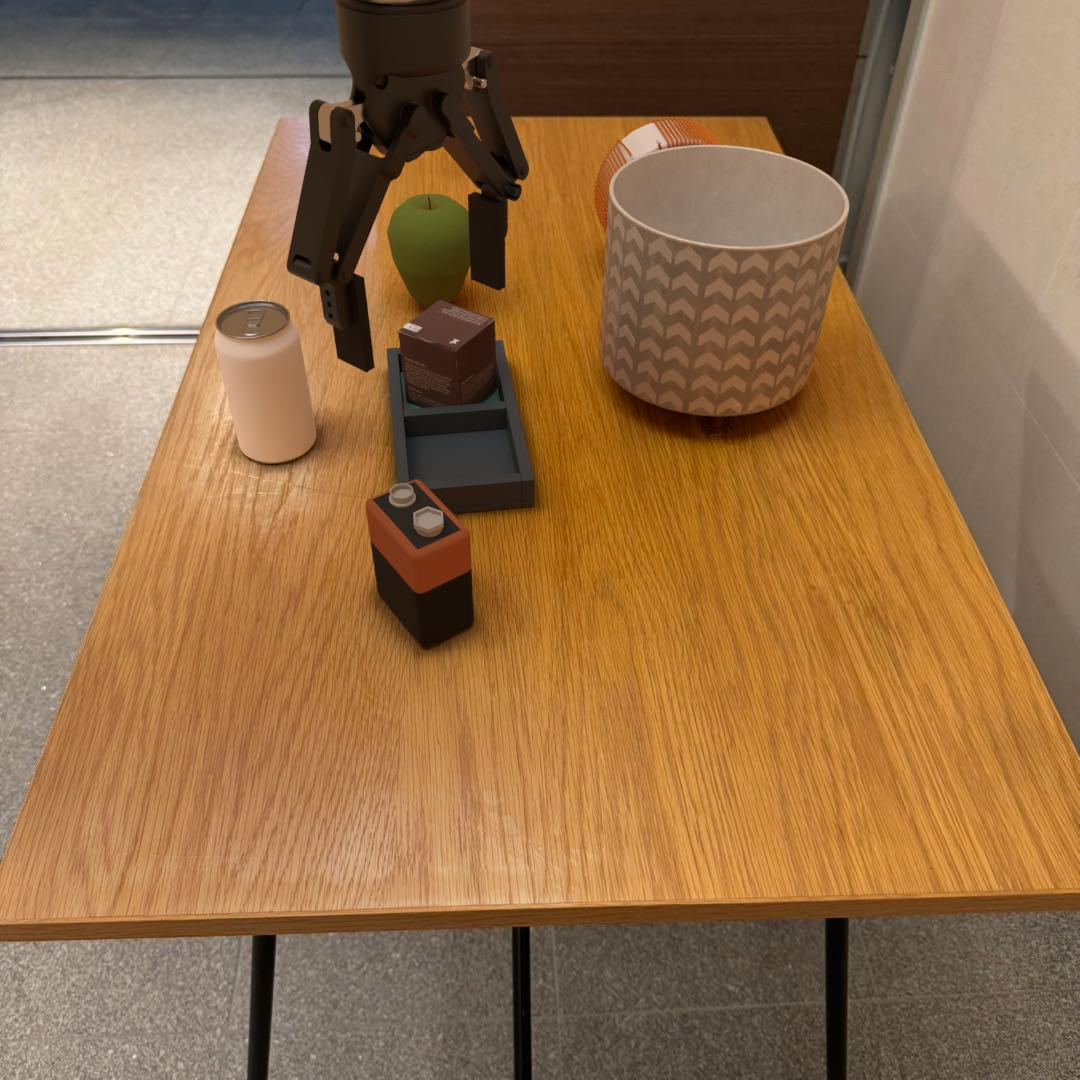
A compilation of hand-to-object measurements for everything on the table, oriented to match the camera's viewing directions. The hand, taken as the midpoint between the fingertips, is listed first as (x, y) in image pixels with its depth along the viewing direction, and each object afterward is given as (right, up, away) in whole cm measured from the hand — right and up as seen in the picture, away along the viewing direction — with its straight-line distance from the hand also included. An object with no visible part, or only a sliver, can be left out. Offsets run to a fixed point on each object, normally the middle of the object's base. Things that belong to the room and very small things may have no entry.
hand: (425, 321), depth 70 cm
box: (0, -3, +19) cm, 19 cm away
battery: (0, -20, +1) cm, 20 cm away
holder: (+1, -6, +16) cm, 17 cm away
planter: (+23, -1, +22) cm, 32 cm away
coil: (+21, +14, +38) cm, 46 cm away
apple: (-3, +9, +32) cm, 33 cm away
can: (-14, -7, +15) cm, 22 cm away
